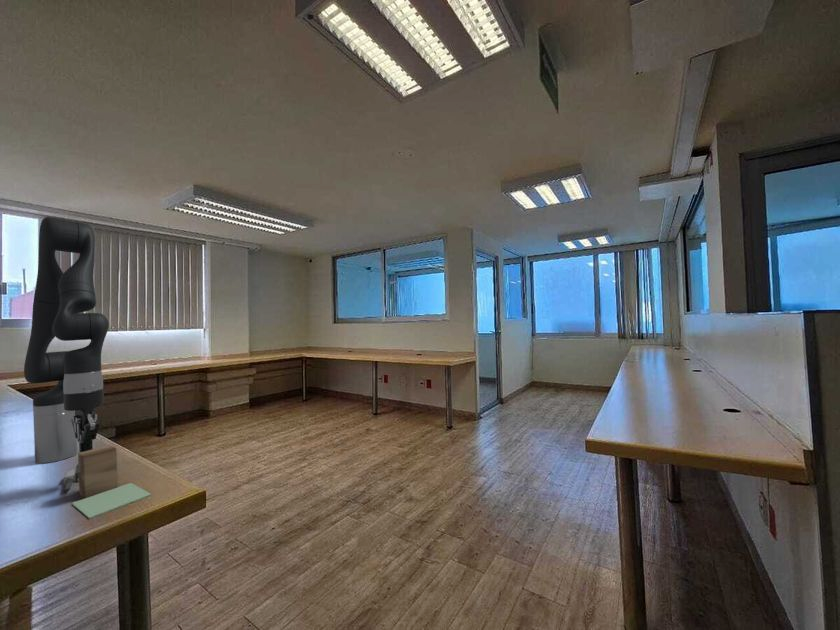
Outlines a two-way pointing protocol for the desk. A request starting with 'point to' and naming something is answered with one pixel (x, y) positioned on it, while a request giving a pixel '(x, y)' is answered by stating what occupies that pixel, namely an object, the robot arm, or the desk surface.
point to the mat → (110, 500)
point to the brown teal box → (97, 471)
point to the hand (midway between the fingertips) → (86, 455)
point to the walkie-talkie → (71, 478)
